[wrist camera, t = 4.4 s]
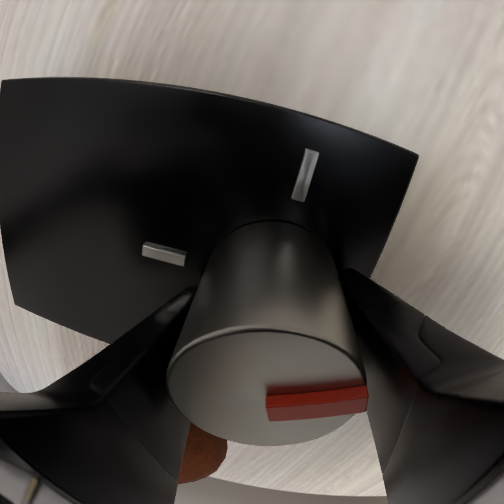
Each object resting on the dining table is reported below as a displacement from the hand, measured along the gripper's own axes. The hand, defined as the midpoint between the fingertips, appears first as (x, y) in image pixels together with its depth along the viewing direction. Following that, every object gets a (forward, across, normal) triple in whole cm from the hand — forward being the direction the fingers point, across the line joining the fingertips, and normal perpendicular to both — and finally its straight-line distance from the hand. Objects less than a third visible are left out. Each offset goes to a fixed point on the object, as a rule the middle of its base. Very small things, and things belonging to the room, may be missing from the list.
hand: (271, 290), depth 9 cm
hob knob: (0, 0, 0) cm, 0 cm away
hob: (+3, +4, -2) cm, 5 cm away
